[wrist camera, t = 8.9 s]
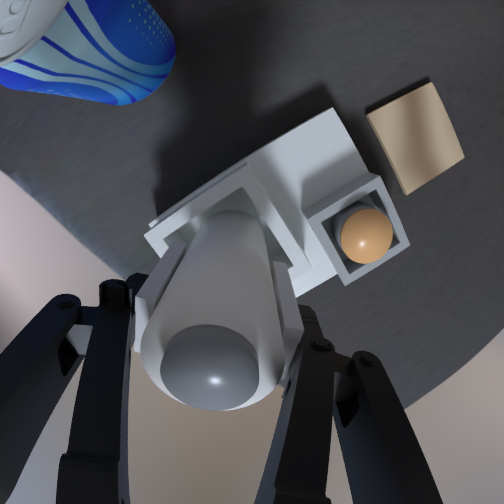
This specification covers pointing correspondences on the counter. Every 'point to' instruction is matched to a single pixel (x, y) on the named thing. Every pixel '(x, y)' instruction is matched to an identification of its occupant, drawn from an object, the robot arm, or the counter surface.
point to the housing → (291, 202)
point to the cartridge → (218, 320)
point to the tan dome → (362, 232)
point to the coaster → (416, 136)
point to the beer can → (85, 48)
